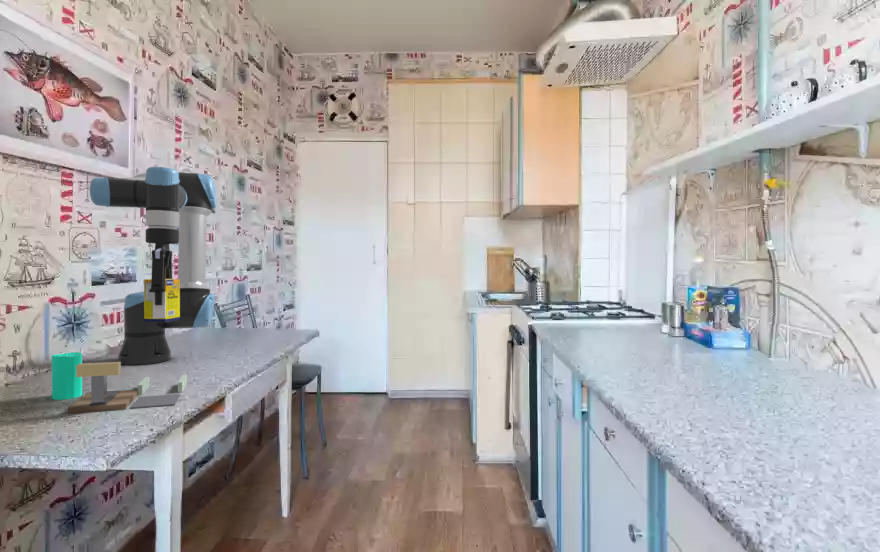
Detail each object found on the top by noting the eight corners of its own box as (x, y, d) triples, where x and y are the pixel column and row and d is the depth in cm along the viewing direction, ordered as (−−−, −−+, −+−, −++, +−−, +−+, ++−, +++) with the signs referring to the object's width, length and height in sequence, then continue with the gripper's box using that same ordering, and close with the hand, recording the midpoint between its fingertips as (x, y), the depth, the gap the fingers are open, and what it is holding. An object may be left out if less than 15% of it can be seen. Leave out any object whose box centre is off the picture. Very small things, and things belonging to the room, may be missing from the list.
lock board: (87, 397, 120) (87, 391, 120) (138, 394, 124) (138, 387, 124) (67, 413, 108) (67, 406, 108) (125, 409, 112) (125, 402, 112)
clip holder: (145, 386, 132) (145, 376, 132) (186, 383, 135) (186, 374, 135) (137, 395, 123) (137, 385, 123) (182, 391, 127) (182, 382, 127)
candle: (50, 401, 117) (50, 351, 117) (53, 395, 122) (52, 347, 122) (81, 397, 120) (81, 349, 120) (83, 391, 125) (82, 345, 125)
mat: (139, 397, 121) (139, 396, 121) (180, 395, 124) (180, 393, 124) (130, 408, 112) (130, 407, 112) (174, 405, 115) (174, 403, 115)
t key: (80, 401, 111) (79, 363, 111) (121, 398, 114) (120, 361, 114) (76, 404, 109) (76, 365, 109) (118, 401, 112) (118, 363, 111)
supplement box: (180, 319, 130) (180, 278, 129) (165, 322, 124) (165, 279, 123) (159, 319, 130) (159, 278, 130) (143, 322, 124) (143, 279, 124)
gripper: (153, 230, 135) (153, 312, 135) (136, 225, 115) (136, 321, 116) (184, 231, 137) (184, 312, 138) (172, 226, 118) (172, 320, 119)
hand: (162, 316), depth 127 cm, fingers closed on supplement box, 8 cm apart
